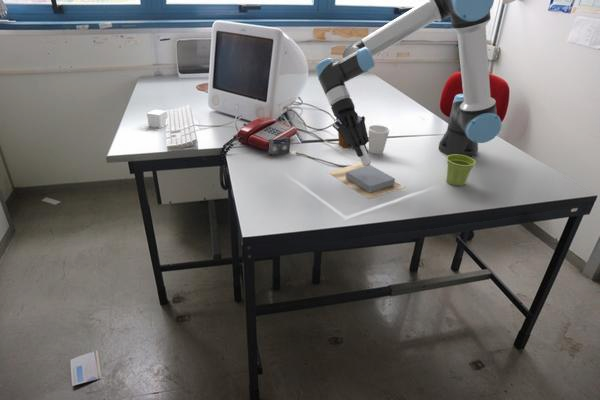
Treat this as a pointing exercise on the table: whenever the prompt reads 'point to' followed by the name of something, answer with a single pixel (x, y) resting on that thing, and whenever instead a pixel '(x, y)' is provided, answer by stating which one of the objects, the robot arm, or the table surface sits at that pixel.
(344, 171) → the board
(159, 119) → the adhesive note
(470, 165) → the plant pot
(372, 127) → the dixie cup
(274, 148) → the mini dv tape
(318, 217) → the table surface
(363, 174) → the tile
